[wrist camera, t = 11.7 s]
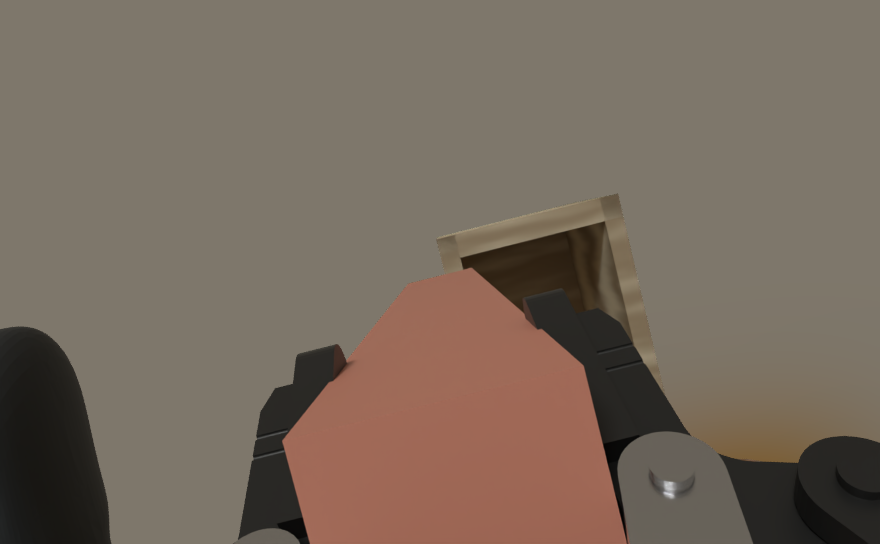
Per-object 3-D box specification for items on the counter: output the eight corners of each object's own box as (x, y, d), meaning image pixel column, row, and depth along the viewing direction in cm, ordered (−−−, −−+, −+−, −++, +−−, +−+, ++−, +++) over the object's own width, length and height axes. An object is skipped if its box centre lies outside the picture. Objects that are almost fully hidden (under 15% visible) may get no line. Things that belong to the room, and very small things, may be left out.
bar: (655, 658, 7) (583, 365, 7) (360, 729, 7) (282, 441, 7) (487, 330, 33) (471, 267, 33) (424, 346, 33) (408, 283, 33)
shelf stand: (725, 656, 42) (618, 193, 40) (552, 698, 42) (436, 239, 40) (653, 549, 56) (571, 203, 53) (524, 581, 56) (437, 237, 54)
